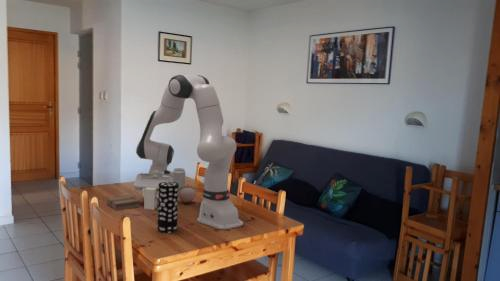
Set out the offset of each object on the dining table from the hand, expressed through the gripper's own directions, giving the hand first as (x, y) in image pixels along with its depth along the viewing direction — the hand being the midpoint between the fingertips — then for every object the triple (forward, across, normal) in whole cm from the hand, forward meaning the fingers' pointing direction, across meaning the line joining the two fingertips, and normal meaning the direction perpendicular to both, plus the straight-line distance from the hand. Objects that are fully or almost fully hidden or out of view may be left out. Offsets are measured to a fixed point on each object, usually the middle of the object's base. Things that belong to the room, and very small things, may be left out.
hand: (150, 197), depth 201 cm
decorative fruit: (-6, +16, +13) cm, 21 cm away
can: (-26, +3, +34) cm, 44 cm away
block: (+3, 0, +4) cm, 5 cm away
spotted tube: (+24, +17, -16) cm, 33 cm away
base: (+3, -14, +4) cm, 15 cm away
